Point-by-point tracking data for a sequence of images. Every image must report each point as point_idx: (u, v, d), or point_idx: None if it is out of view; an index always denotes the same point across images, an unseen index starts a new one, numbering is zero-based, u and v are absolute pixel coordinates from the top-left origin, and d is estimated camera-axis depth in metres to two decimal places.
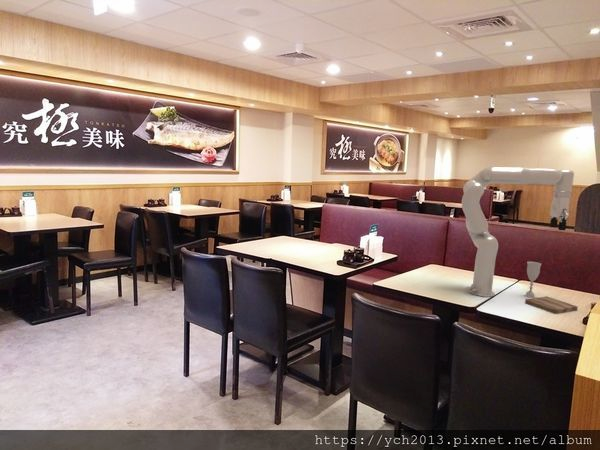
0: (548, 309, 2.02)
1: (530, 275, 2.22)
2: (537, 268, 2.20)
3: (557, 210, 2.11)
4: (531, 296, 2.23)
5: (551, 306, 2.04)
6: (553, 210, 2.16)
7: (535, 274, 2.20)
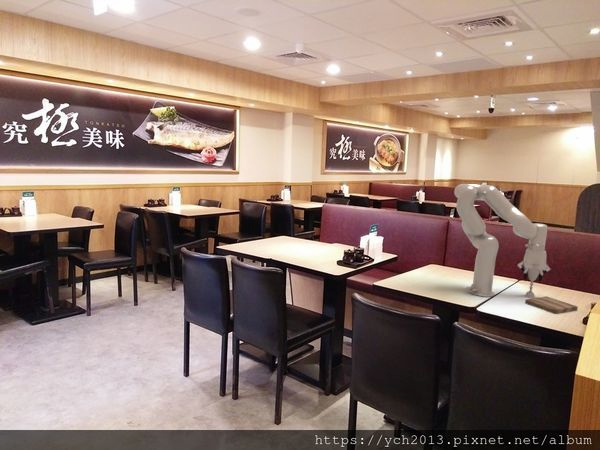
0: (548, 309, 2.02)
1: (530, 275, 2.22)
2: (537, 268, 2.20)
3: (543, 263, 2.19)
4: (531, 296, 2.23)
5: (551, 306, 2.04)
6: (534, 263, 2.20)
7: (535, 274, 2.20)
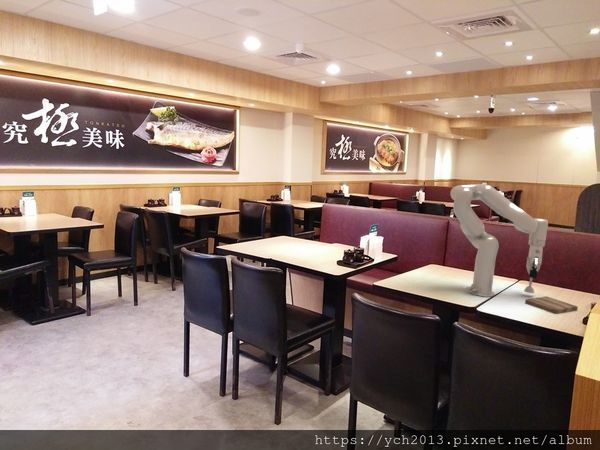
0: (548, 309, 2.02)
1: (537, 271, 2.21)
2: None
3: None
4: None
5: (551, 306, 2.04)
6: None
7: None
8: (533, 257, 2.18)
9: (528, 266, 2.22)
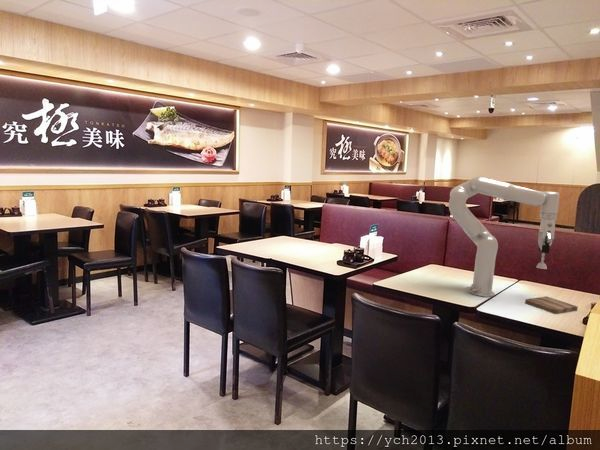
0: (548, 309, 2.02)
1: None
2: None
3: None
4: None
5: (551, 306, 2.04)
6: None
7: None
8: (545, 231, 2.10)
9: (540, 241, 2.14)
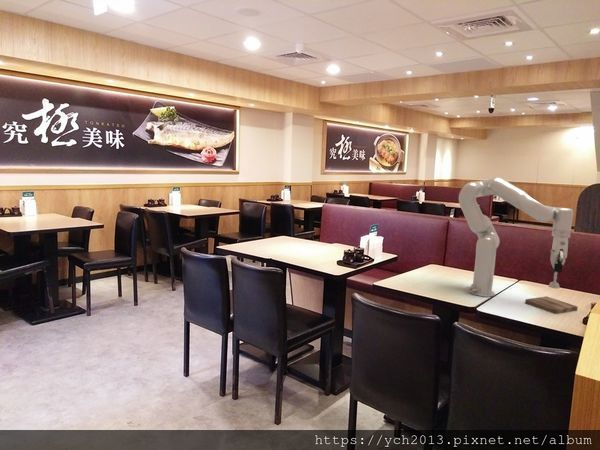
0: (548, 309, 2.02)
1: None
2: None
3: None
4: None
5: (551, 306, 2.04)
6: None
7: None
8: (558, 250, 2.01)
9: (552, 259, 2.05)
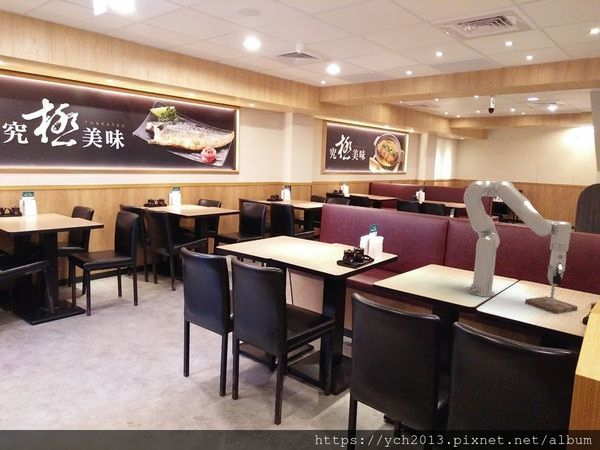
0: (548, 309, 2.02)
1: None
2: None
3: None
4: None
5: (551, 306, 2.04)
6: None
7: None
8: (556, 263, 2.02)
9: (550, 276, 2.06)
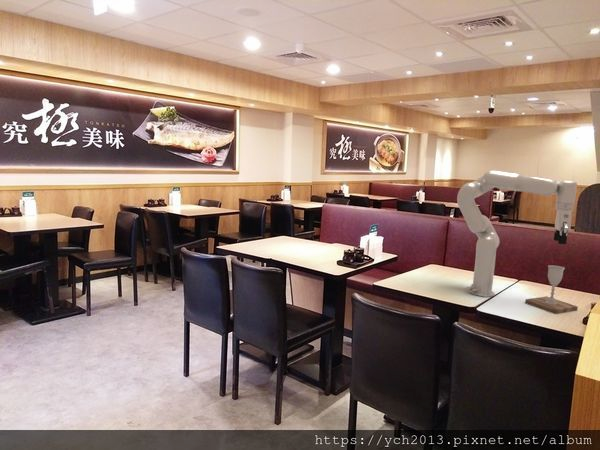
0: (548, 309, 2.02)
1: (560, 280, 2.06)
2: None
3: None
4: None
5: (551, 306, 2.04)
6: None
7: None
8: (561, 222, 1.99)
9: (550, 276, 2.06)
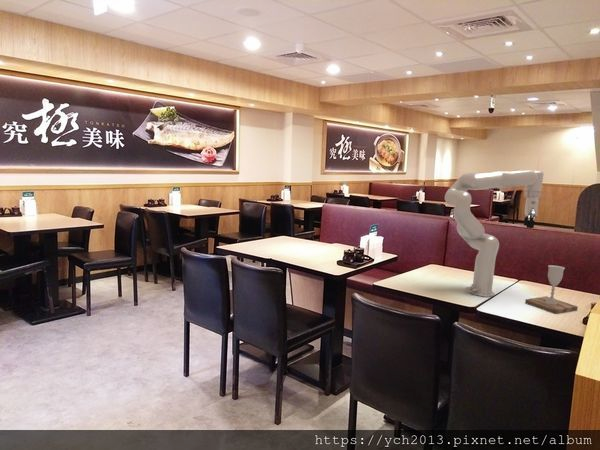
0: (548, 309, 2.02)
1: (560, 280, 2.06)
2: None
3: None
4: None
5: (551, 306, 2.04)
6: None
7: None
8: (529, 208, 2.19)
9: (550, 275, 2.06)
